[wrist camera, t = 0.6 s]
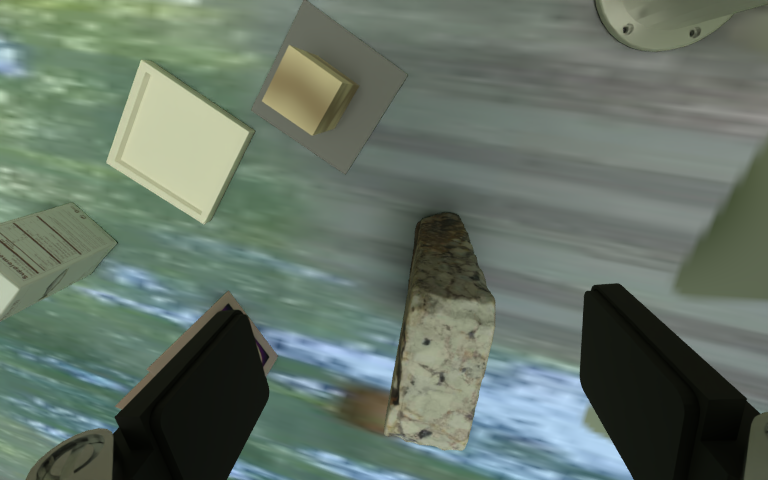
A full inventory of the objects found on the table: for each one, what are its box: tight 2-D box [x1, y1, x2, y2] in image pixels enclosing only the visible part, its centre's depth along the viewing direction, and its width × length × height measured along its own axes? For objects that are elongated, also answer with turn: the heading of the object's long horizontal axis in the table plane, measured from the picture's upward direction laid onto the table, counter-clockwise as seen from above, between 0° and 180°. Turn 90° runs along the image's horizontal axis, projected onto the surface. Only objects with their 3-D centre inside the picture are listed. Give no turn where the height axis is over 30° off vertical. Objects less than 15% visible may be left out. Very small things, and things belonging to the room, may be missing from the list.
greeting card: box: [115, 291, 278, 409], centre depth 43 cm, size 11×7×15 cm, turn 29°
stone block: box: [384, 212, 495, 451], centre depth 34 cm, size 13×7×20 cm, turn 179°
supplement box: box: [0, 203, 117, 321], centre depth 42 cm, size 7×7×13 cm
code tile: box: [251, 0, 408, 175], centre depth 38 cm, size 12×12×1 cm
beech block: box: [262, 45, 359, 136], centre depth 34 cm, size 5×5×8 cm
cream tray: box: [106, 60, 255, 224], centre depth 41 cm, size 13×13×2 cm
